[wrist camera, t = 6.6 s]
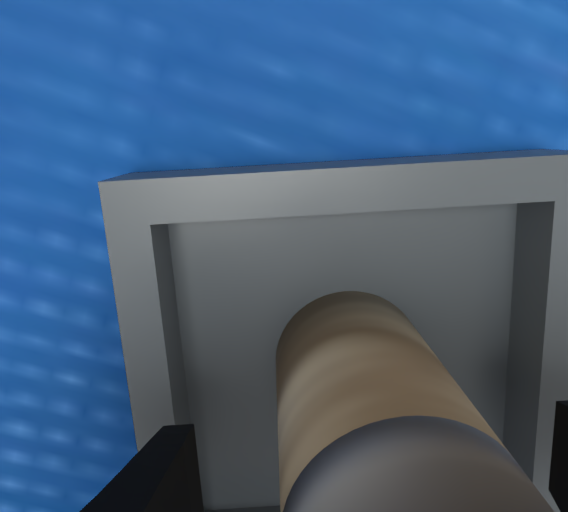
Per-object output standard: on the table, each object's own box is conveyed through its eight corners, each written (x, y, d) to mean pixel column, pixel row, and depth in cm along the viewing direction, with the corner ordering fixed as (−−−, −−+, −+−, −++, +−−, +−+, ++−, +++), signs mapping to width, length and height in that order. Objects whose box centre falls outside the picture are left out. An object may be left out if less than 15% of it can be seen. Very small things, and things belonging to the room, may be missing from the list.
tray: (175, 520, 16) (158, 590, 13) (130, 173, 13) (98, 181, 11) (517, 498, 16) (562, 564, 13) (542, 148, 13) (604, 152, 11)
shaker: (282, 430, 14) (294, 707, 7) (269, 298, 13) (269, 473, 6) (421, 417, 14) (563, 680, 7) (417, 284, 13) (579, 443, 6)
